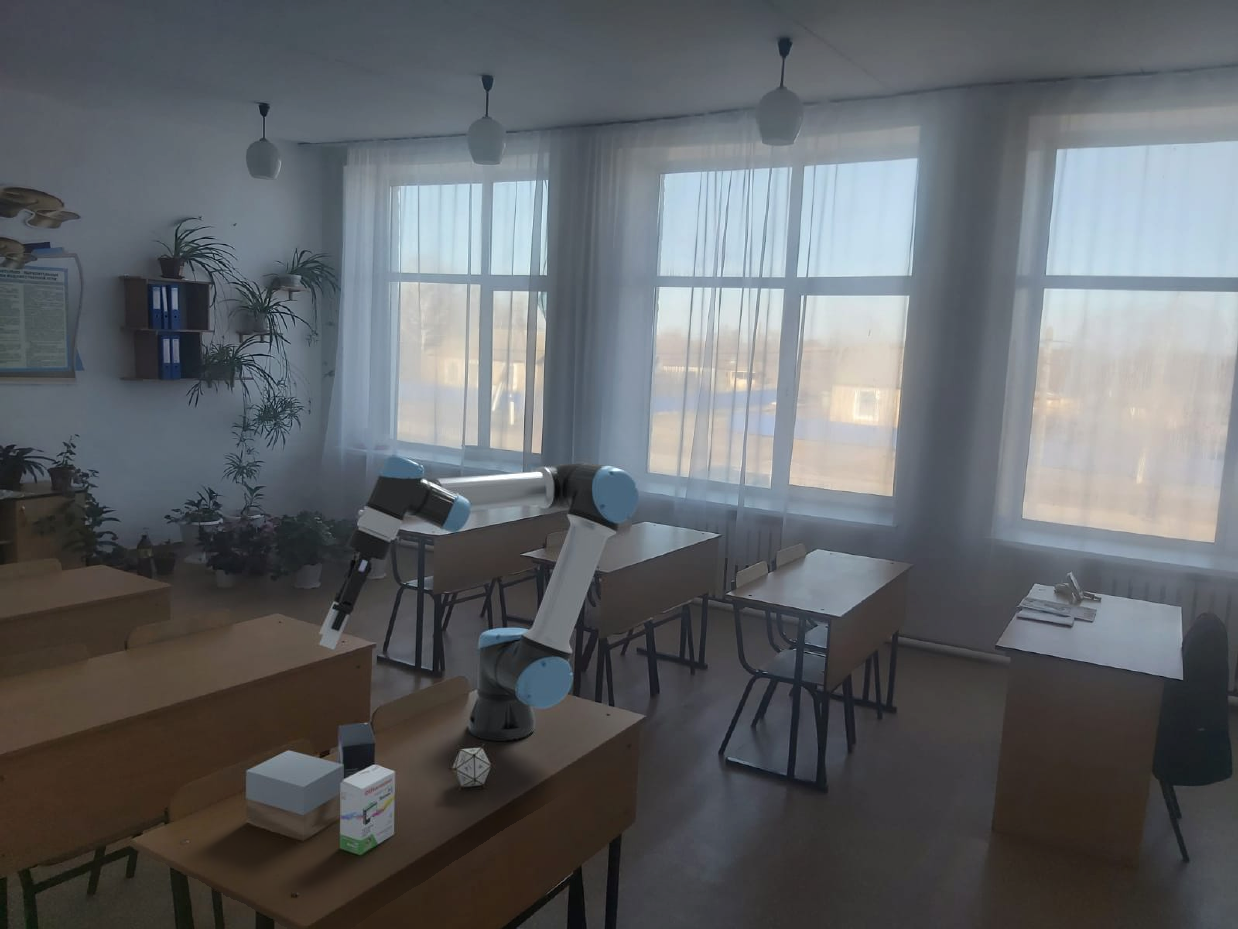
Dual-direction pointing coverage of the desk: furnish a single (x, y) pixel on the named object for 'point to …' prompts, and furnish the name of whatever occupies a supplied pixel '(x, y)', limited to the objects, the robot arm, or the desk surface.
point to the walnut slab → (293, 818)
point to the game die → (471, 767)
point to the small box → (355, 747)
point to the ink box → (367, 809)
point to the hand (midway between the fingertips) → (326, 641)
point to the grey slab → (294, 782)
